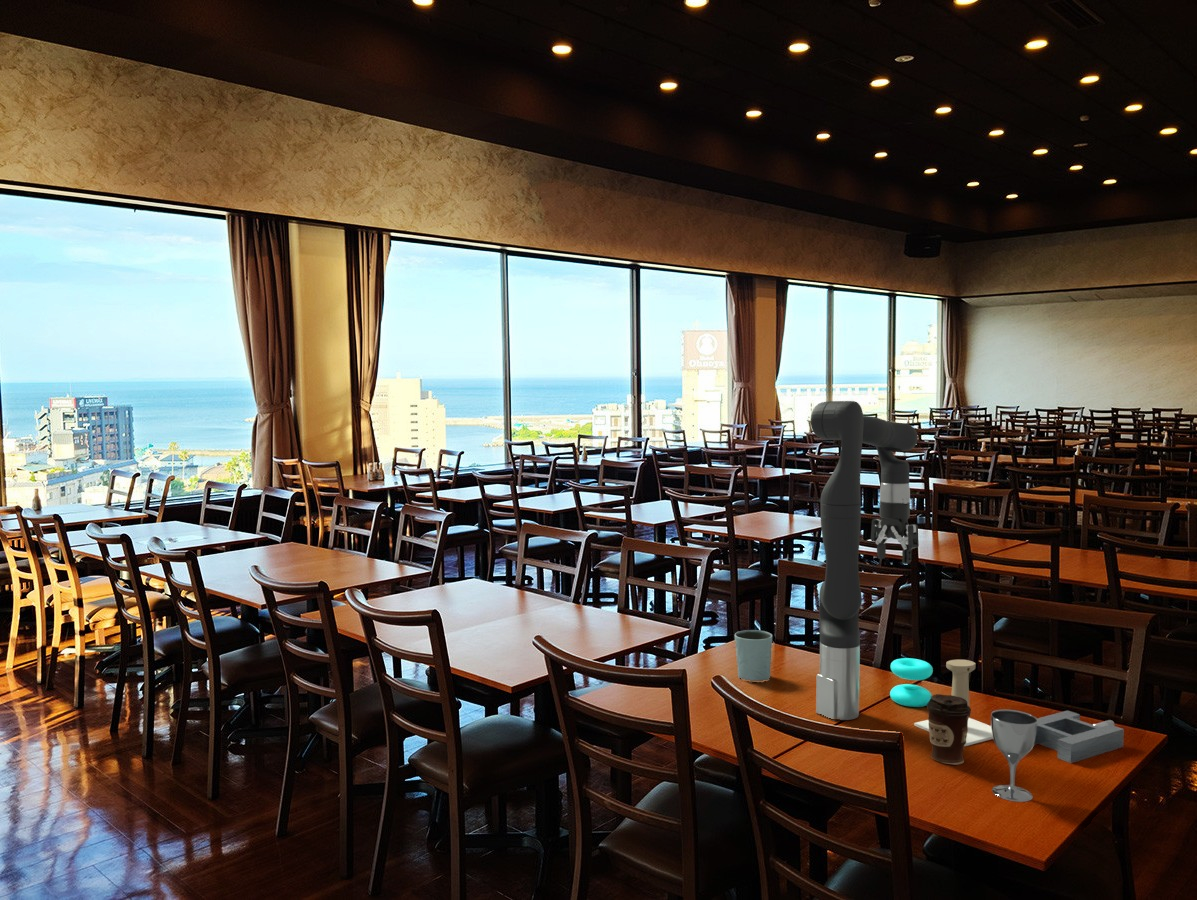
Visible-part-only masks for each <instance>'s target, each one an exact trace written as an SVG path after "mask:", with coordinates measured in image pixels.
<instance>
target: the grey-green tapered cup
mask: <svg viewBox="0 0 1197 900" xmlns="http://www.w3.org/2000/svg"><path fill="white" fill-rule="evenodd" d="M734 645H735V655H736V664H737V665H736V666H737V676H738V677H737V678H738V679H739V678H741V679H745V680H750V681H763V680H768V679H769V678H770V679H771V666H772V648H773V634H772V633H770V632H768V631H765V630H756V629H747V630H746V629H745V630H741V631H739V630H738V631H737V632H735V633H734ZM770 679H769V680H770ZM769 680H768V681H769Z"/></svg>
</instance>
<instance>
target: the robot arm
mask: <svg viewBox="0 0 1197 900" xmlns="http://www.w3.org/2000/svg"><path fill="white" fill-rule="evenodd" d="M863 413H864V411H863V408H862V406H861V405H860V403H859V402H857V401H854V400H830V401H829V400H828V401H823V402H820V403H817V405H815V406H814V407H813V409H812V411H811V414H810V427H811V430H812V432H813V433H814V435H815V436H816V437H818V438H819V439H822V440H828V441H840V442H841V445H840V453H839V458H838V461H837V465H836V467H835V468H834V470H833V473H832V474H831V475H830V476H829V479H828V480H827V482H826V483H825V484H824V487H823V489H822V491H821V494H820V528H821V536H822V541H823V542H822V543H823V547H824V552H825V576H824V578H825V579H824V581H823V582H822V584H821V585H820V588H819V598H818V600H819V601H818V602H819V603H818V604H819V605H818V607H819V611H818V613H819V614H818V615H819V619H818V620H819V621H818V623H819V625H818V626H819V673H816V680H815V681H816V682H815V683H816V684H815V685H816V686H815V687H816V689H815V691H816V692H815V693H816V694H815V714H818V715H820V714H822V715H821V716H823V715H824V716H823V717H825V716H826V717H825V718H827V717H828V719H829V718H831V719H840V720H841V721H850V720H854V719H857V718H859V715H860V663H861V661H860V658H861V656H860V655H861V653H860V651H861V649H860V648H861V647H860V646H861V645H860V644H861V641H860V640H861V633H860V626H859V625H860V624H859V622H860V621H859V610H860V608H861V606H862V601H863V598H862V590H861V582H860V572H859V550H860V543H861V541H860V539H861V521H862V520H861V519H862V518H861V517H862V514H861V513H862V508H861V507H862V506H861V505H862V504H861V503H862V501H861V499H862V497H861V465H862V464H861V462H862V461H861V460H862V459H861V458H862V450H863V449H862V448H863V444H866V445H869V446H870V445H871V446H873V447H876V450H877V455H878V460H879V463H880V469H881V470H880V471H881V473H880V488H879V517H880V518H874V519H872V520H871V527H870V529H871V531H870V541H871V542H874V543H875V544H876V556H877V559H880V560H881V559H882V560H884V559H886V556H887V555H886V554H887V553H886V552H887V549H886V548H887V547H886V543H887V541H888V540H889V539H891V538H892V539H893V540H897V541H898V543H899V544H900V545H901V547H902V553H901V554H902V555H901V556H902V557H901V558H902V559H901V562H902V564H903V565H909V564H911V562H912V554H913V553H912V550H913V549H917V548H918V549H919V545H920V544H919V543H920V542H919V541H920V540H919V525H918V524H909V522H908V520H909V518H910V517H911V516H910V515H911V513H910V512H911V511H910V509H911V489H910V464H909V462H907V461H906V460H903V459H899V458H897V457H896V456H895V454H894V452H909V451H911V450H912V449H914V448H915V447H916V445H917V443H918V438H919V436H918V432H917V430H916V429H915V428H914V427H913V425H910V424H908V423H902V422H894V421H888V420H885V419H882V418H879V417H876V416H871V415H870V416H868V415H864V414H863ZM831 719H830V720H831ZM840 720H839V721H840Z"/></svg>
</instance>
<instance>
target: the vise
mask: <svg viewBox="0 0 1197 900" xmlns="http://www.w3.org/2000/svg"><path fill="white" fill-rule="evenodd" d="M1080 718H1081V714H1079V713H1077V712H1074V711H1070V710H1064V711H1060V712H1056V713H1053V714H1049V715H1045V716H1041V717H1039V718H1037V717H1036V719H1037V733H1036V738H1035V742H1034V746H1035V745H1037V744H1038V745H1041V746H1044V747H1046V748H1048V749H1051V750H1054V751H1056V752H1057V755H1056V756H1057V759H1059V760H1062V761H1064V762H1066V763H1069V764H1073V763H1075V762H1076V763H1077V762H1080V761H1083V760H1086V759H1088V758H1089V759H1090V758H1094V757H1095V756H1096V757H1097V756H1098V755H1102V754H1105V752H1106V753H1108V752H1112V751H1115V750H1117V749H1118V748H1119V749H1122V748H1124V739H1125V738H1124V735H1125V734H1124V733H1125V732H1124V731H1125V729H1124V728H1122V727H1118V726H1116V725H1115V722H1114V721H1113V720H1111V719H1108V720H1105V721H1100V722H1098V723H1093V724H1091V723H1090V722H1089V723H1088V722H1086V721H1082V720H1081V719H1080ZM1121 747H1122V748H1121ZM1119 749H1118V750H1119Z"/></svg>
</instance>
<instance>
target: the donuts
mask: <svg viewBox="0 0 1197 900" xmlns="http://www.w3.org/2000/svg"><path fill="white" fill-rule="evenodd" d="M933 669H934V668H933V666H932V665H931V664H930V663H929V662H927V661H925V660H922V659H917V658H911V657H910V658H909V657H907V658H906V657H905V658H904V657H903V658H897V659H894V660H893V661H891V663H890V670H891V671H890V672H892V673H893V675H895V676H897V677H899V678H900V679H905V680H909V681H924V680H926V679H929V678H930V677H931V676H932V675H933V671H934V670H933ZM889 696H890V699H891V700H892V701H893V702H895V703H896V704H898V705H901V706H905V707H912V708H922V707H925V706H926V707H927V703H928V702H929V701H930V699H931V696H933V695H932V692H931V691H929V690H928V689H927V688H925V687H924V686H920V685H917V684H909V683H906V684H905V683H904V684H897V685H895V686H894V687H892V688H891V690H890V692H889Z"/></svg>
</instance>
